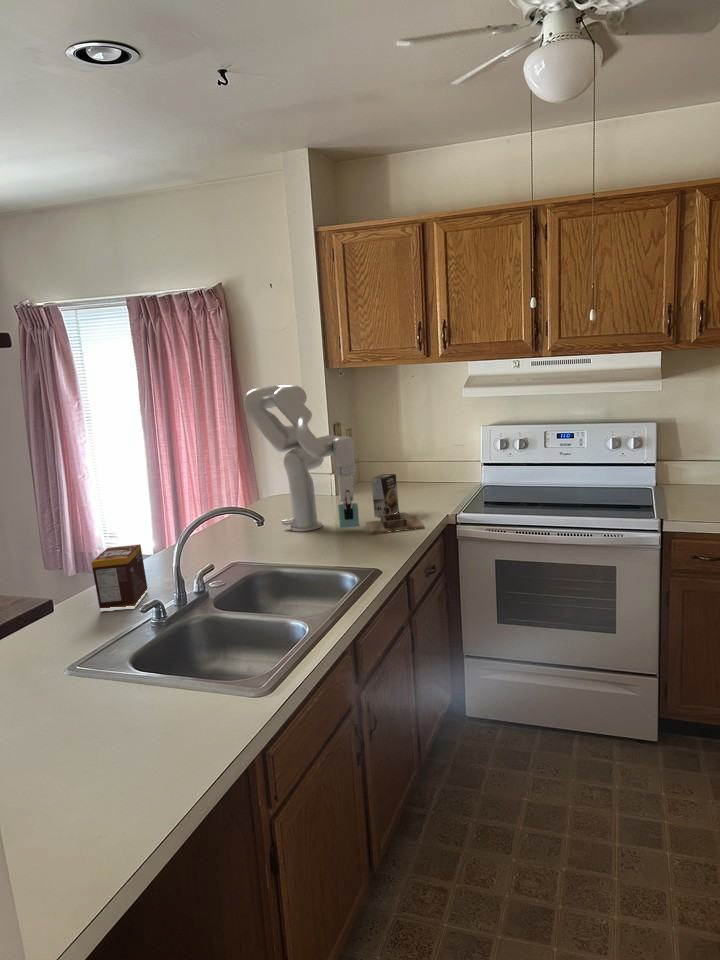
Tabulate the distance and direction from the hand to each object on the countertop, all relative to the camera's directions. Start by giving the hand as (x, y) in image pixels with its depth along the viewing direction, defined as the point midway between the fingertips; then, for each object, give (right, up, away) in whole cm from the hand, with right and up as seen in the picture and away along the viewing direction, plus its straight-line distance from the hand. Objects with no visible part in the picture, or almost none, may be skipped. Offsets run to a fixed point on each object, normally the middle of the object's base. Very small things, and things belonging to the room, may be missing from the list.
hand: (348, 517), depth 272 cm
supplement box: (-66, -23, -55) cm, 89 cm away
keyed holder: (+17, -4, +2) cm, 18 cm away
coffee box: (+15, 0, +21) cm, 26 cm away
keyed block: (0, -3, +1) cm, 3 cm away
